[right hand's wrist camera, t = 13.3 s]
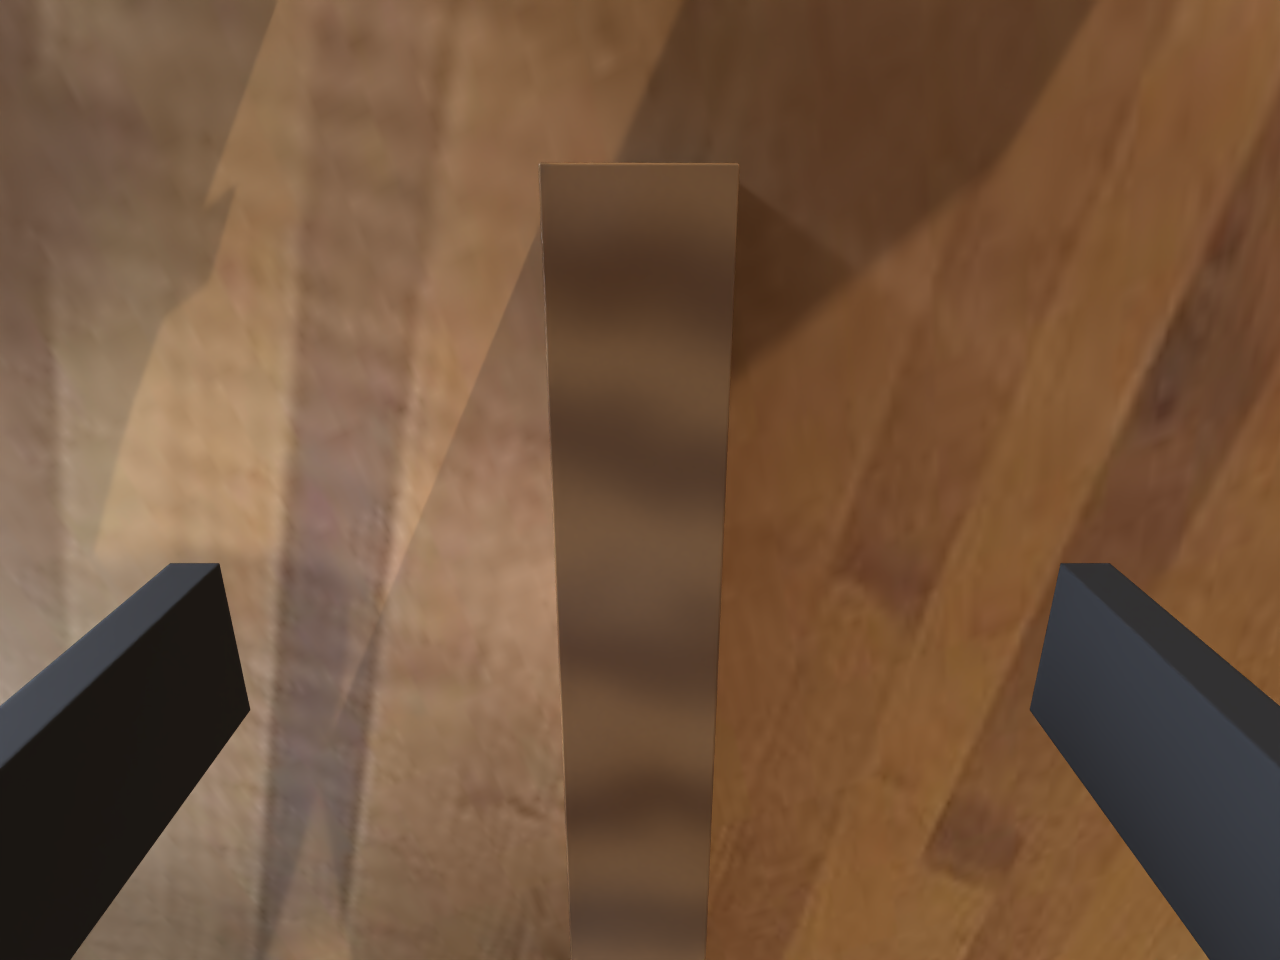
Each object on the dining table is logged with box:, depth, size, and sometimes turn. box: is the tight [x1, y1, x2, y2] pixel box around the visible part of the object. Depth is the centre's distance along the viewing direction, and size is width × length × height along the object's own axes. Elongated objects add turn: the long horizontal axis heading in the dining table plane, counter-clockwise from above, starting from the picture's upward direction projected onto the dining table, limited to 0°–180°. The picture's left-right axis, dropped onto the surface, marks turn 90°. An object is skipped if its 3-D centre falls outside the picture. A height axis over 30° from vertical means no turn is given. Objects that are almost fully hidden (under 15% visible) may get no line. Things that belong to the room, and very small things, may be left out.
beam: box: [539, 163, 739, 960], centre depth 37 cm, size 58×6×8 cm, turn 0°
